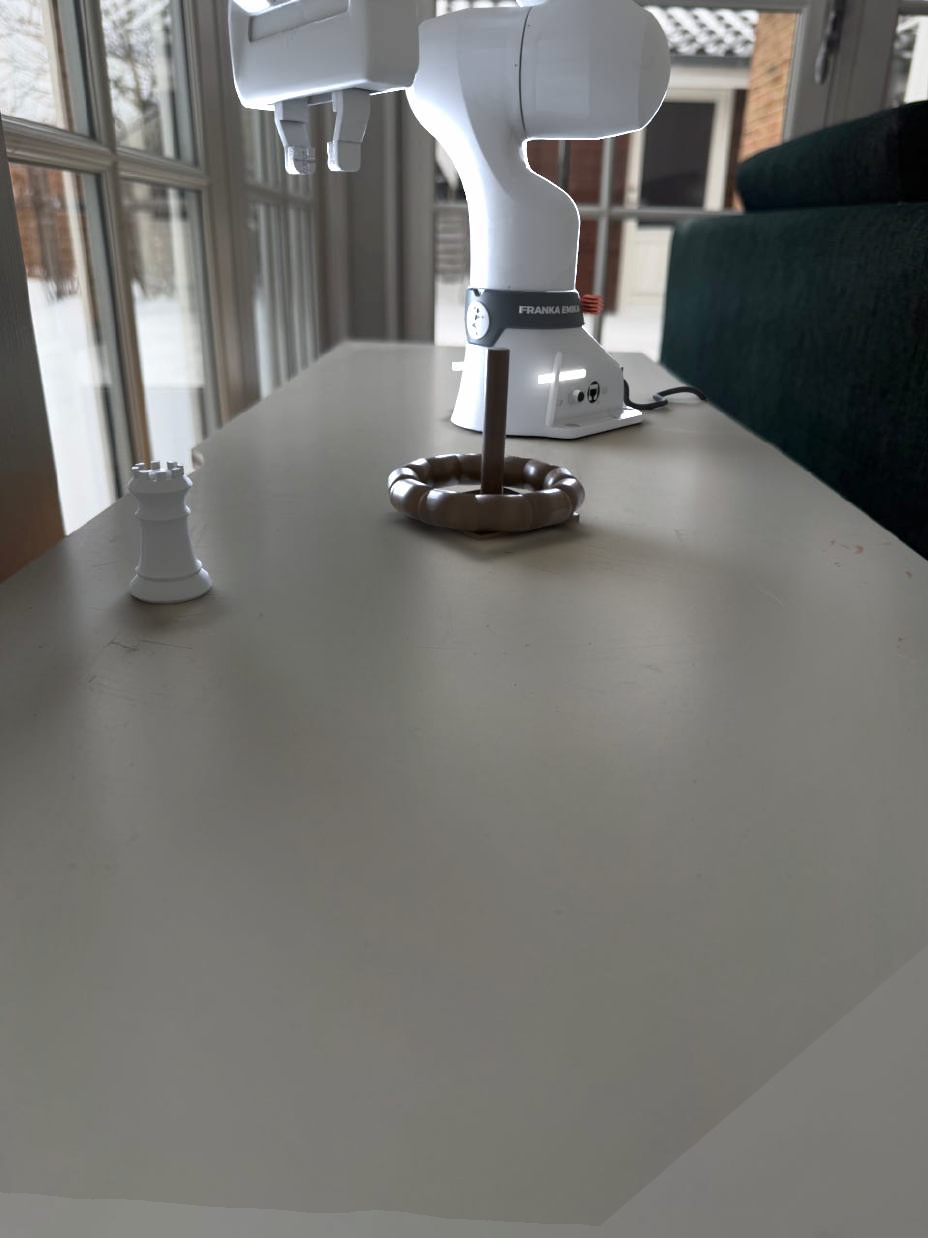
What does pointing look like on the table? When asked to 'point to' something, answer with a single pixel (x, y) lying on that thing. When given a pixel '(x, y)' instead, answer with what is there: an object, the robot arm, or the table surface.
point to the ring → (541, 507)
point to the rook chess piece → (165, 537)
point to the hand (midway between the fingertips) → (321, 172)
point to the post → (496, 435)
